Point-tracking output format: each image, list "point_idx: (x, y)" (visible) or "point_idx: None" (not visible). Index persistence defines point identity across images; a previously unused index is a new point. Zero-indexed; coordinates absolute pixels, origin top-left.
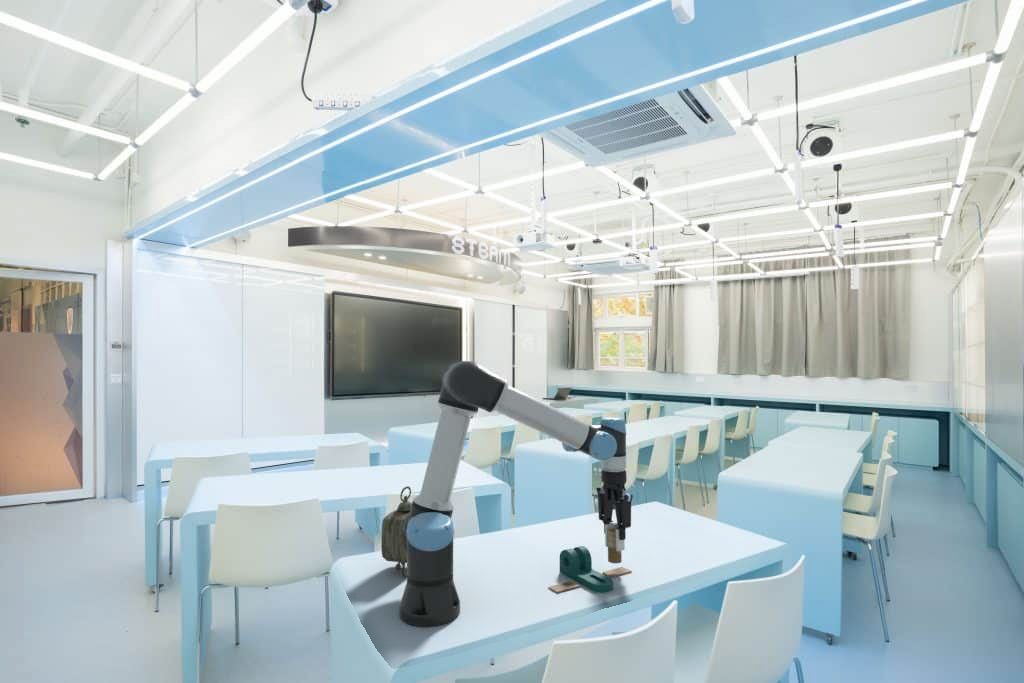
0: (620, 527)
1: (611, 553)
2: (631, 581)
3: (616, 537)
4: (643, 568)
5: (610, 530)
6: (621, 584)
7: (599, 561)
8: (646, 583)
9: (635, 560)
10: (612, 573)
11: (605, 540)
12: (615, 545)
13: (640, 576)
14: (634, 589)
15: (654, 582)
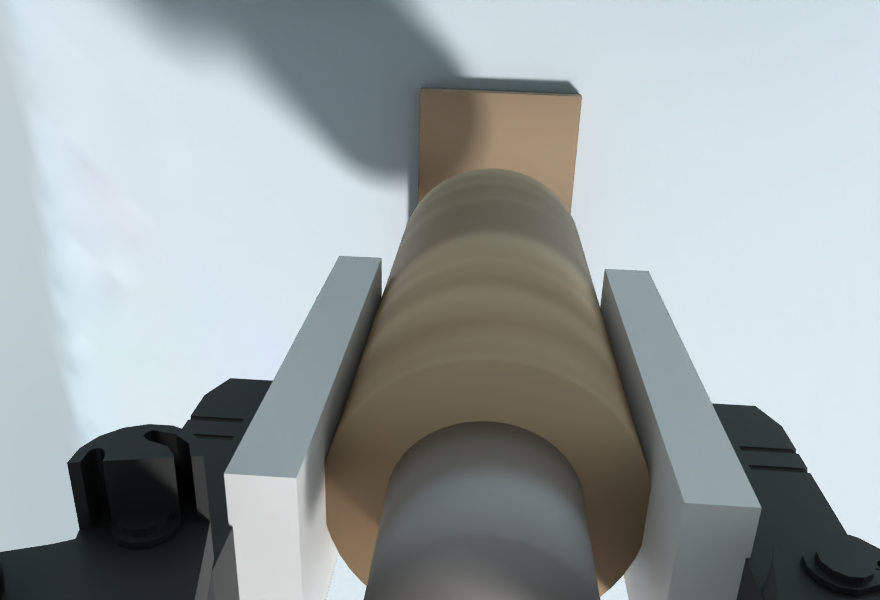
0: (79, 521)
1: (459, 210)
2: (241, 197)
3: (321, 360)
4: None
5: (523, 432)
6: (229, 47)
7: (853, 323)
8: (134, 279)
9: (610, 596)
10: (480, 163)
11: (662, 312)
12: (387, 293)
13: None
14: (62, 67)
15: (120, 354)
